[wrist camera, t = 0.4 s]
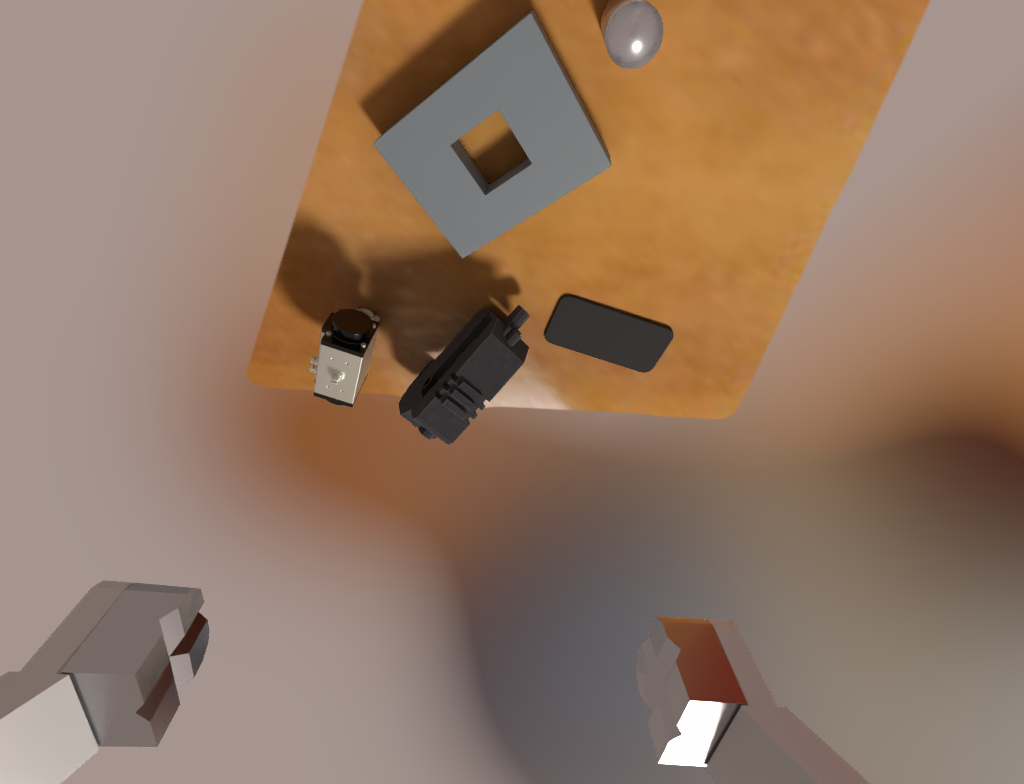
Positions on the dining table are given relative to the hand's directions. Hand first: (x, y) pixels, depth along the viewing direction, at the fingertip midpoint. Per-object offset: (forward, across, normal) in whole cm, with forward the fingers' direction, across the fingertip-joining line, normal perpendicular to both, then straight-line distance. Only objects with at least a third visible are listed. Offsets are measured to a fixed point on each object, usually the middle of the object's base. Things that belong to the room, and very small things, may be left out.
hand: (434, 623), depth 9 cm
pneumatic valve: (+58, +13, +17) cm, 61 cm away
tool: (+56, -1, +18) cm, 59 cm away
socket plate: (+50, -1, -6) cm, 50 cm away
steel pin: (+46, -10, -17) cm, 50 cm away
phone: (+54, -18, +13) cm, 58 cm away
